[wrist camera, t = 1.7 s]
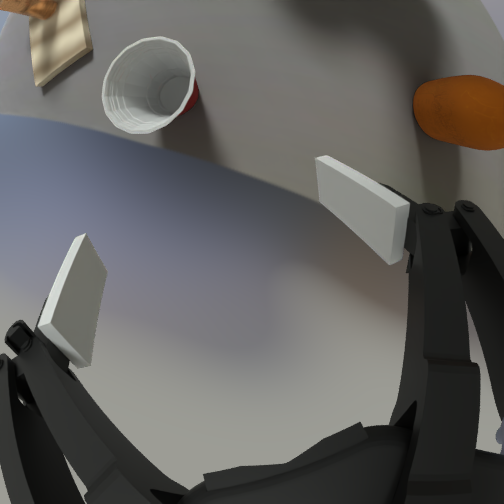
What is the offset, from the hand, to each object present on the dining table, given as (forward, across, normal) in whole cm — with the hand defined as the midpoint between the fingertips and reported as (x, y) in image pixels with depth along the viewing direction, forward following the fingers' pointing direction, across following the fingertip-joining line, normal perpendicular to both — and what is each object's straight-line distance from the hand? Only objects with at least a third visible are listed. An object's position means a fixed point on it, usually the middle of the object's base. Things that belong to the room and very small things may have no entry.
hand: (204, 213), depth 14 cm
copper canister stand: (+38, -17, +34) cm, 54 cm away
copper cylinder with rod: (+36, -18, +40) cm, 57 cm away
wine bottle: (+16, +37, 0) cm, 40 cm away
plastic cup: (+27, +1, +6) cm, 28 cm away
